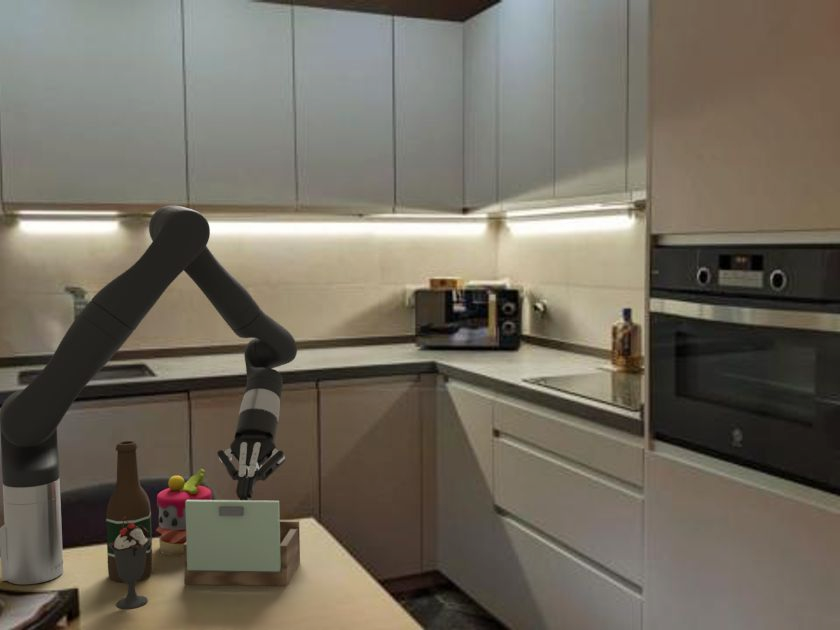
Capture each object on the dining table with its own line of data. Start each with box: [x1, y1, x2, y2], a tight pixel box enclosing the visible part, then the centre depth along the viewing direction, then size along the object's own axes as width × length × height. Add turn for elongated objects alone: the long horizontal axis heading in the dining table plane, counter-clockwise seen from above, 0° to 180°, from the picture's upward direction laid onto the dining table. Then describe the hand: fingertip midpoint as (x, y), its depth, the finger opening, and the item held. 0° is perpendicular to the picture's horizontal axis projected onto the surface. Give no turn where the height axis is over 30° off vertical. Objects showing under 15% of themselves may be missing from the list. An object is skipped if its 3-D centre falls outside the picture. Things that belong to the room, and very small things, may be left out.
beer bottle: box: [105, 440, 153, 584], centre depth 155 cm, size 8×8×24 cm
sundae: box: [109, 517, 151, 610], centre depth 143 cm, size 7×7×15 cm
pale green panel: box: [185, 499, 281, 573], centre depth 149 cm, size 16×2×12 cm, turn 87°
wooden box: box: [183, 519, 301, 587], centre depth 156 cm, size 18×11×8 cm, turn 87°
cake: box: [155, 468, 213, 557], centre depth 170 cm, size 10×11×15 cm
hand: (243, 498), depth 157 cm, fingers closed
